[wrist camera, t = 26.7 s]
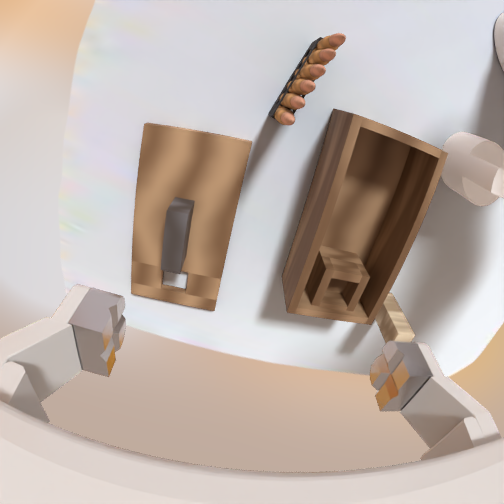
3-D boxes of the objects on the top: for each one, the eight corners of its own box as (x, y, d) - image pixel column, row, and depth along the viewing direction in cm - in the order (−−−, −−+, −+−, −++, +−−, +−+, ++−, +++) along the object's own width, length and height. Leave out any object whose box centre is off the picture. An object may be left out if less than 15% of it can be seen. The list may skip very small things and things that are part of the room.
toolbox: (416, 139, 35) (448, 153, 28) (356, 290, 46) (371, 324, 39) (333, 108, 34) (353, 113, 27) (281, 276, 45) (286, 312, 38)
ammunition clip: (281, 122, 35) (295, 136, 24) (267, 114, 34) (275, 125, 24) (326, 50, 30) (358, 34, 20) (312, 42, 30) (339, 21, 19)
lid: (252, 141, 36) (252, 149, 31) (215, 306, 48) (211, 331, 43) (147, 122, 34) (130, 128, 29) (133, 288, 46) (122, 311, 41)
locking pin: (376, 290, 46) (398, 333, 38) (392, 293, 47) (415, 335, 38) (369, 305, 48) (388, 349, 39) (384, 307, 48) (404, 350, 39)
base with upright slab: (489, 143, 34) (543, 167, 24) (473, 197, 39) (521, 232, 28) (448, 122, 33) (504, 141, 23) (431, 182, 38) (480, 216, 27)
